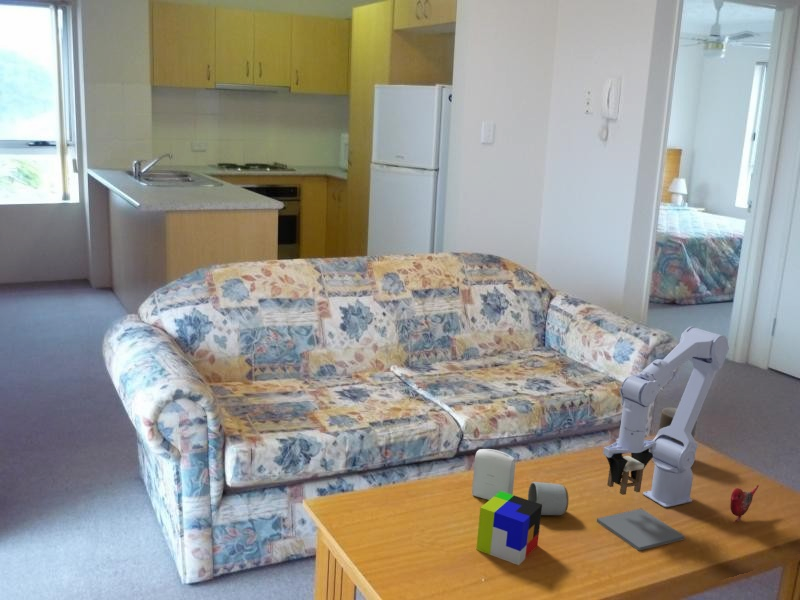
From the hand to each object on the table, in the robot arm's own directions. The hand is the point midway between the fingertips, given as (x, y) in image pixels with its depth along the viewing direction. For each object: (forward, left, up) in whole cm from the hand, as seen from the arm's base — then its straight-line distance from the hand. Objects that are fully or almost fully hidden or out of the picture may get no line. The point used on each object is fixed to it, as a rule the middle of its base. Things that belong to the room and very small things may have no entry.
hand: (625, 480), depth 197 cm
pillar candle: (-38, -21, -9) cm, 44 cm away
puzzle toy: (+35, +2, -9) cm, 36 cm away
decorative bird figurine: (-27, +12, -9) cm, 31 cm away
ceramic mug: (+16, -9, -9) cm, 21 cm away
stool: (0, 0, -2) cm, 2 cm away
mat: (+1, +7, -9) cm, 12 cm away
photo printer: (+25, -19, -9) cm, 32 cm away
